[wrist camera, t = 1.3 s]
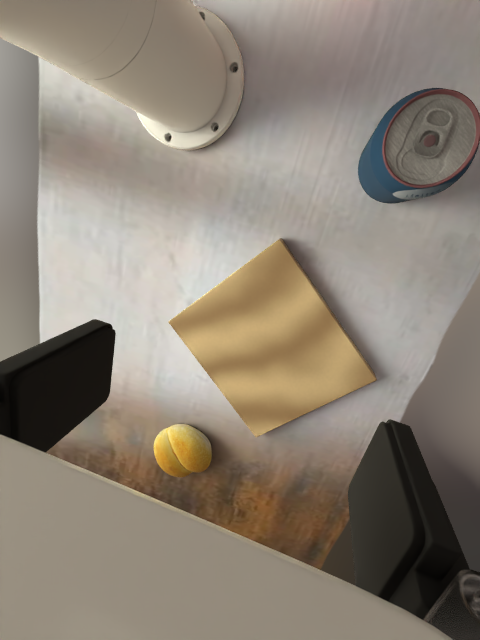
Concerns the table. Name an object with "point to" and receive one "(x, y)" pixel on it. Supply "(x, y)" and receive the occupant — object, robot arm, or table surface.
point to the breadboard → (272, 342)
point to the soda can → (420, 146)
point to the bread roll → (182, 450)
